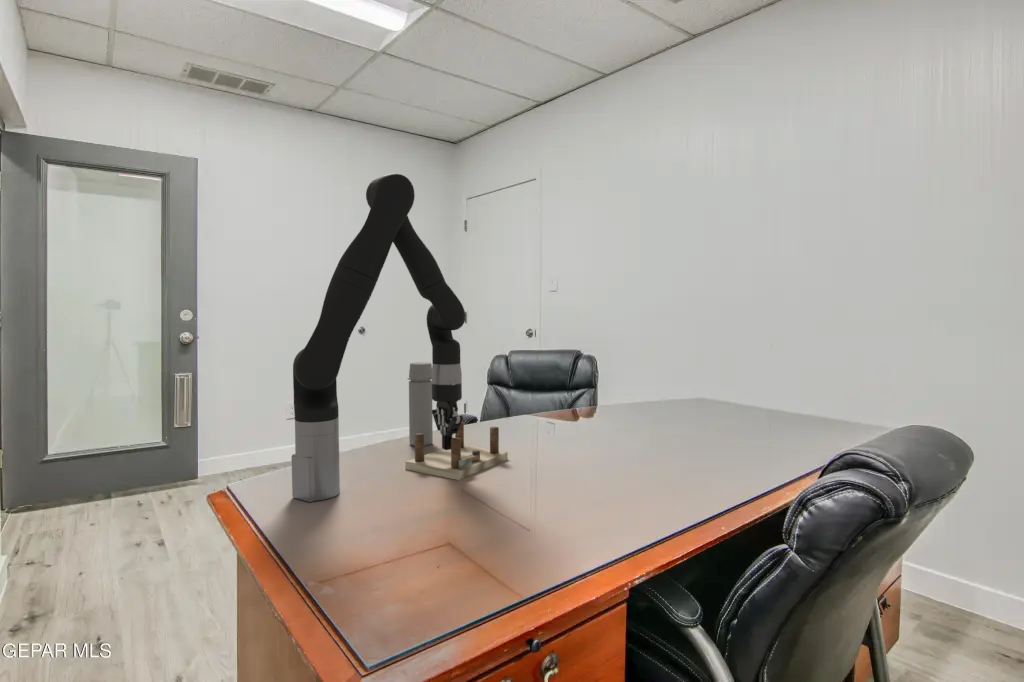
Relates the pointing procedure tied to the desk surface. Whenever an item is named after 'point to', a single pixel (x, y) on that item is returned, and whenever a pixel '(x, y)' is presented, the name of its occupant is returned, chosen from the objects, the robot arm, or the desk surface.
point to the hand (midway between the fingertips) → (447, 449)
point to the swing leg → (457, 453)
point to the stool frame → (441, 460)
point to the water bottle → (420, 402)
